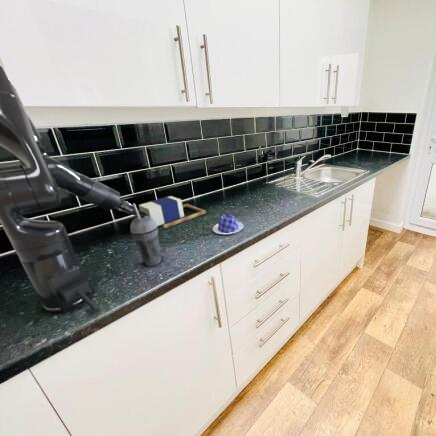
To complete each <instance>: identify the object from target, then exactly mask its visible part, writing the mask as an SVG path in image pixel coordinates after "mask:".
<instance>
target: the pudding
mask: <svg viewBox="0 0 436 436" xmlns="http://www.w3.org/2000/svg"><path fill="white" fill-rule="evenodd" d="M244 226H245V225H244V223H242V222H241V221H237V219H236V217H235V215H233V214H230V213H229V214H228V213H227V214H224V215H221V216H220V217H219V219H218V222H217V224H215V225H214V226H213V227H212V232H214V233H215V234H217V235H218V234H219V235H231V234H236V233H238V232H240V231H242V230H243V228H244Z"/></svg>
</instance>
